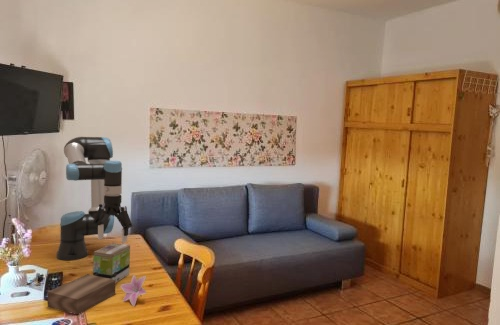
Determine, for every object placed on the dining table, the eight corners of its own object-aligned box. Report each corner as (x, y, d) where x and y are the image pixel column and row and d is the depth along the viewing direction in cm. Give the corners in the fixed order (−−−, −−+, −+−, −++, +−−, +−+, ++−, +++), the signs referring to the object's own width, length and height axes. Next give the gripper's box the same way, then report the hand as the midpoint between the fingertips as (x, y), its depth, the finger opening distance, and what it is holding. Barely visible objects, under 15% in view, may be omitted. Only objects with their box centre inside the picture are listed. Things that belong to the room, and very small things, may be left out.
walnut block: (47, 306, 142) (47, 291, 142) (87, 287, 161) (87, 273, 160) (77, 315, 137) (77, 299, 136) (115, 294, 155) (115, 280, 155)
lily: (120, 297, 155) (113, 282, 150) (146, 282, 160) (140, 267, 155) (130, 317, 146) (123, 301, 141) (157, 300, 152) (151, 285, 146)
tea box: (112, 286, 163) (112, 253, 161) (92, 283, 165) (92, 251, 163) (130, 274, 177) (130, 244, 176) (111, 271, 179) (111, 242, 178)
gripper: (85, 193, 169) (85, 239, 170) (129, 198, 160) (129, 246, 161) (97, 191, 176) (97, 235, 177) (140, 196, 167) (140, 242, 168)
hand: (112, 240), depth 169 cm, fingers open, 13 cm apart
